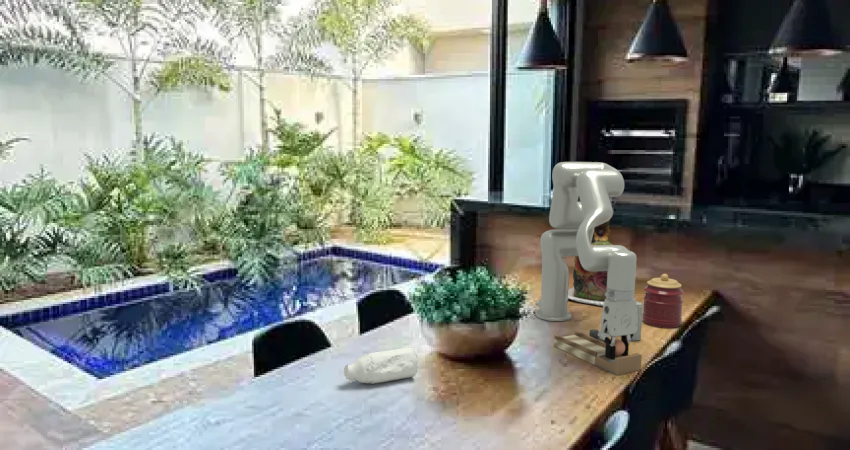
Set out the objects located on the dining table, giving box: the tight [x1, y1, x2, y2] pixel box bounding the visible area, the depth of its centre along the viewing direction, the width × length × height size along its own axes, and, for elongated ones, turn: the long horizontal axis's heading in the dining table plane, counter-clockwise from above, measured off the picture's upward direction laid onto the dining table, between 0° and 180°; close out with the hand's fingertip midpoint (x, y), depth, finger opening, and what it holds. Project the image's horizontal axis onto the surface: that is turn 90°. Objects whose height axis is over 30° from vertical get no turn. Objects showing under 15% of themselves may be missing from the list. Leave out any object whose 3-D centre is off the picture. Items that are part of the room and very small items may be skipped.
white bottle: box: [343, 346, 419, 385], centre depth 171 cm, size 8×19×8 cm, turn 116°
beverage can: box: [631, 300, 644, 342], centre depth 208 cm, size 5×5×12 cm
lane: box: [553, 330, 616, 366], centre depth 195 cm, size 18×9×4 cm, turn 28°
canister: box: [642, 273, 685, 329], centre depth 225 cm, size 13×13×18 cm
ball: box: [614, 339, 625, 355], centre depth 183 cm, size 4×4×4 cm
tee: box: [589, 328, 604, 342], centre depth 207 cm, size 6×6×3 cm
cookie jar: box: [568, 219, 613, 307], centre depth 257 cm, size 25×25×32 cm
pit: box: [594, 352, 643, 376], centre depth 183 cm, size 9×9×4 cm
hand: (616, 356), depth 184 cm, fingers closed on ball, 4 cm apart
